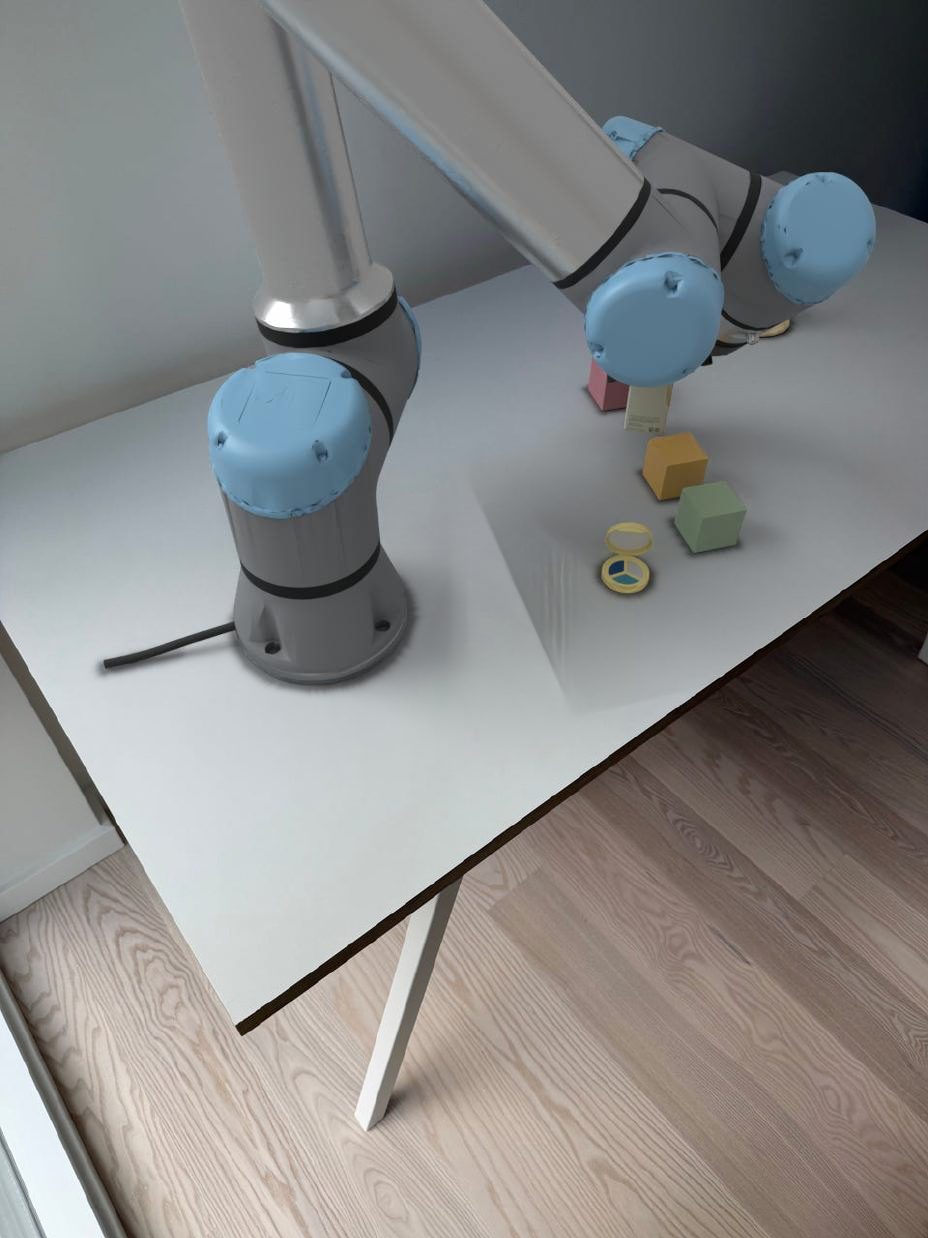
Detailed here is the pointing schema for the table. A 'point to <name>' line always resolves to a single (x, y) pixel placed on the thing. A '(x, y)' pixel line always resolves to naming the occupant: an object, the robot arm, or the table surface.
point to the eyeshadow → (627, 557)
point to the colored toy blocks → (680, 477)
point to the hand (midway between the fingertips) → (639, 366)
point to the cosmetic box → (648, 409)
